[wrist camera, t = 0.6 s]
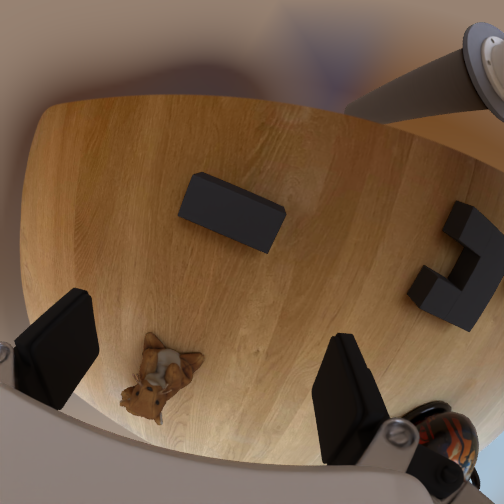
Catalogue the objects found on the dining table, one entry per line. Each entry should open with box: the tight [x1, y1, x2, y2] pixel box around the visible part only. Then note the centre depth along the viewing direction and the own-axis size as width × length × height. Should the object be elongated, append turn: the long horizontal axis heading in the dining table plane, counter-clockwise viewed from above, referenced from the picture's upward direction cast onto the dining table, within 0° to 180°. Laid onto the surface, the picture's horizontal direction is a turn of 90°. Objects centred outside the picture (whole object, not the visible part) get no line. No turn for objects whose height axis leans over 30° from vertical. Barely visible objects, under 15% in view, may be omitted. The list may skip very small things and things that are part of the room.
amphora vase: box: [403, 402, 480, 490], centre depth 36 cm, size 22×22×28 cm
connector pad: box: [178, 172, 286, 254], centre depth 33 cm, size 5×11×4 cm, turn 67°
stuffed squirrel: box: [120, 333, 205, 425], centre depth 38 cm, size 10×14×13 cm
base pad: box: [407, 201, 504, 332], centre depth 34 cm, size 16×14×4 cm
